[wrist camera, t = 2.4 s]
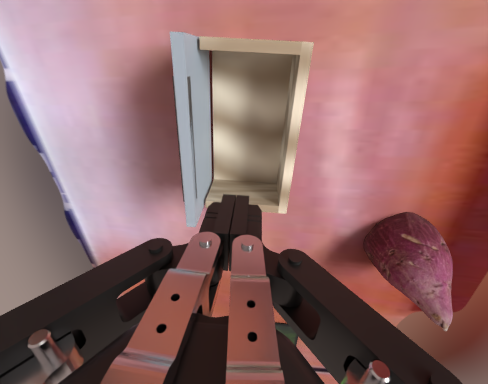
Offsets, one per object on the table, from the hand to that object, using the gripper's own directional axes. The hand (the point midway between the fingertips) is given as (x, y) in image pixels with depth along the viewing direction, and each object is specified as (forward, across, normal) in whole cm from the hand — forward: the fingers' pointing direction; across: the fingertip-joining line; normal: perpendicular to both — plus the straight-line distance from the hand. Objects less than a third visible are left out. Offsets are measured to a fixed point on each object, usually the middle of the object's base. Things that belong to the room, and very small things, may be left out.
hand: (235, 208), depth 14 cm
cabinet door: (+19, +5, 0) cm, 20 cm away
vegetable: (+21, -25, +17) cm, 37 cm away
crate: (+20, 0, 0) cm, 20 cm away
